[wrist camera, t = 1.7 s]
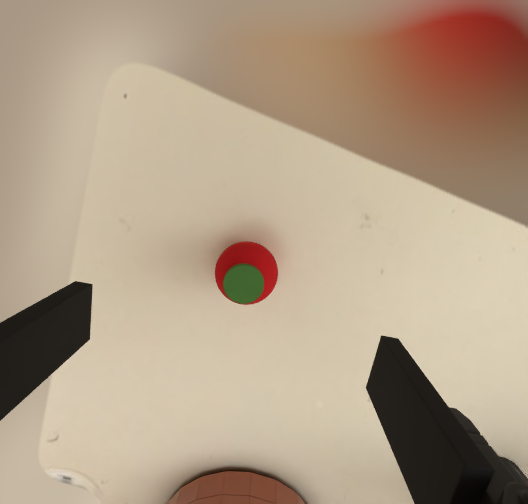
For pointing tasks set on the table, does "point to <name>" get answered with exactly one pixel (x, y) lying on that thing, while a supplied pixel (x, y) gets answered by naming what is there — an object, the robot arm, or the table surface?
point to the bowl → (235, 490)
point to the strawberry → (246, 273)
